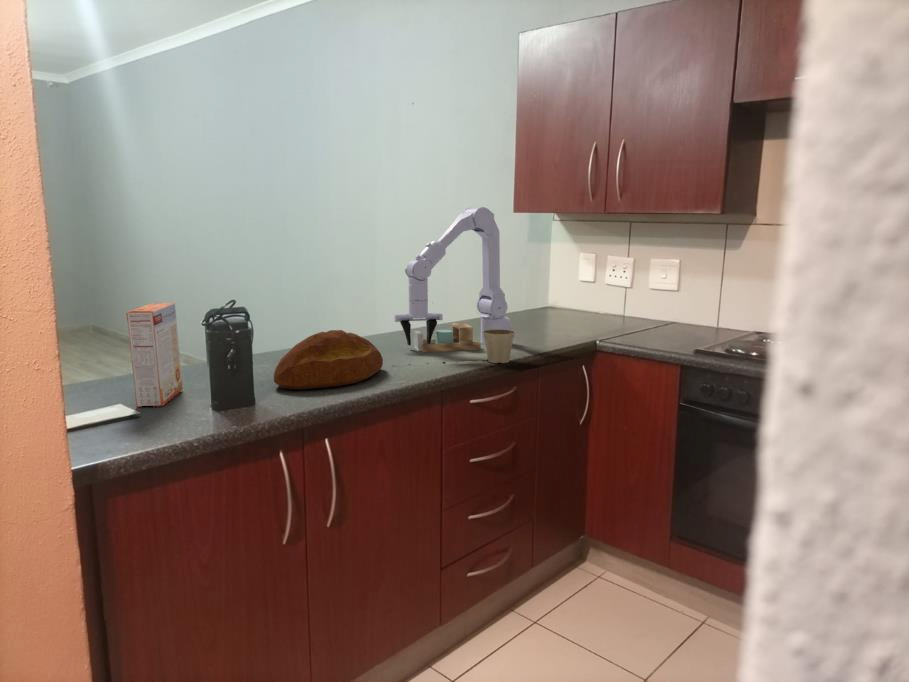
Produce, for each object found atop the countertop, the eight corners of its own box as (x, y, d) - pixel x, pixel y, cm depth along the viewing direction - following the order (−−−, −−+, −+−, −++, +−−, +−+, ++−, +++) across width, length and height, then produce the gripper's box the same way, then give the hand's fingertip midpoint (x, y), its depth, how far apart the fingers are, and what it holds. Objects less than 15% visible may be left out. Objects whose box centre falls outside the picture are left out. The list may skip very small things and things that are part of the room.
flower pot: (518, 359, 189) (519, 329, 188) (510, 366, 181) (511, 335, 179) (487, 357, 193) (487, 328, 191) (478, 363, 184) (478, 333, 182)
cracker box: (157, 391, 153) (149, 302, 150) (183, 391, 154) (177, 302, 150) (133, 408, 140) (124, 310, 136) (162, 407, 140) (154, 310, 136)
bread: (251, 384, 161) (248, 334, 159) (356, 363, 185) (355, 320, 183) (301, 399, 147) (299, 345, 145) (407, 375, 171) (407, 328, 169)
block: (449, 344, 205) (449, 329, 205) (452, 346, 201) (452, 332, 200) (435, 344, 204) (435, 330, 204) (438, 347, 200) (438, 332, 199)
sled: (451, 345, 207) (451, 329, 206) (456, 349, 200) (456, 332, 199) (414, 347, 204) (414, 330, 203) (418, 351, 197) (418, 334, 197)
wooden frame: (471, 346, 210) (471, 322, 209) (480, 351, 201) (480, 327, 199) (416, 348, 206) (416, 324, 205) (422, 354, 196) (422, 329, 195)
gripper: (438, 297, 204) (439, 341, 206) (392, 299, 200) (393, 343, 203) (444, 300, 197) (444, 344, 199) (396, 301, 194) (396, 347, 196)
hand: (418, 344), depth 201 cm, fingers open, 5 cm apart
